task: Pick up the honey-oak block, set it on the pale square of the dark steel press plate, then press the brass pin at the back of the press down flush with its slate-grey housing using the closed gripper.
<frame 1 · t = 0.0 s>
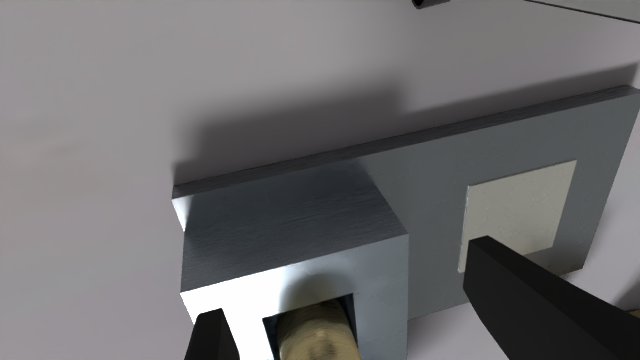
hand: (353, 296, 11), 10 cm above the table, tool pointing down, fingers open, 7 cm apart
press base: (416, 230, 25), on the table
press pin: (317, 349, 19), point 6 cm above the table, slide at 0.0 cm
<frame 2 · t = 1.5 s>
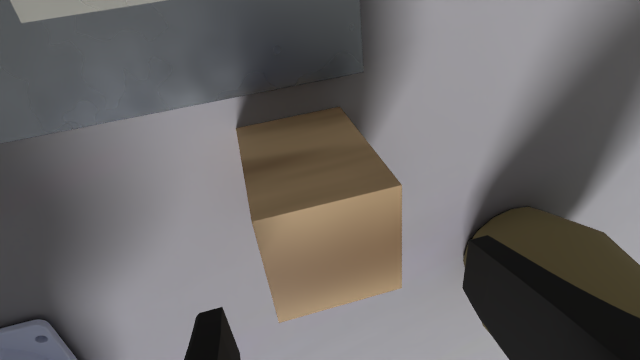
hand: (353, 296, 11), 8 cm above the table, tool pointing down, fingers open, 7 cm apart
squeeze bottle: (502, 241, 25), on the table
oak block: (296, 162, 18), on the table
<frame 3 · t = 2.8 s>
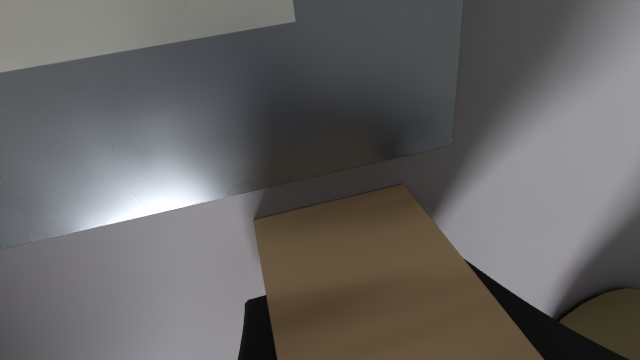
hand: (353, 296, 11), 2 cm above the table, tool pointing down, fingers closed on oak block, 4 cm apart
squeeze bottle: (585, 324, 19), on the table
oak block: (337, 257, 13), on the table, touching gripper
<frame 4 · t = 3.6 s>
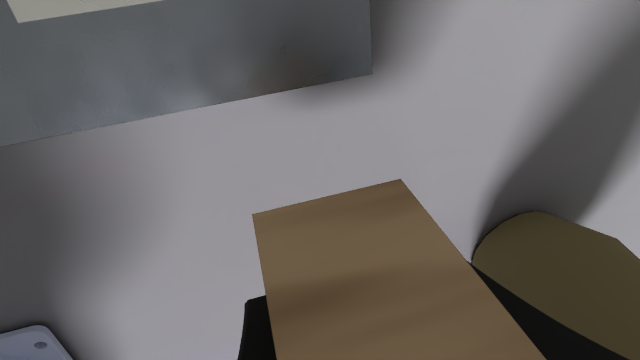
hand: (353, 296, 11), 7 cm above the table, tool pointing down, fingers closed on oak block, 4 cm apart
squeeze bottle: (511, 246, 24), on the table
oak block: (335, 252, 13), point 6 cm above the table, touching gripper
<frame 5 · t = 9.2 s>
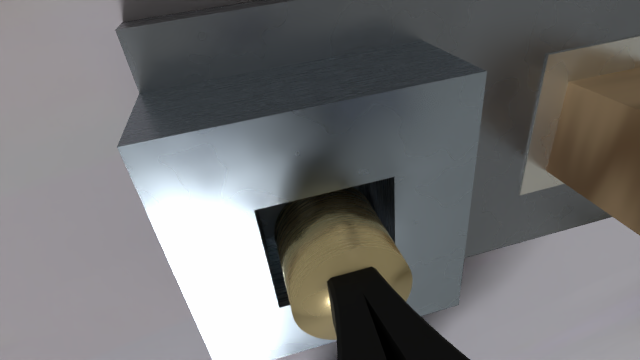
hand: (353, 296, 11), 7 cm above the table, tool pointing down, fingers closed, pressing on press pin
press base: (466, 132, 18), on the table
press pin: (337, 258, 13), point 6 cm above the table, slide at 0.3 cm, touching gripper
oak block: (598, 119, 18), point 1 cm above the table, touching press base
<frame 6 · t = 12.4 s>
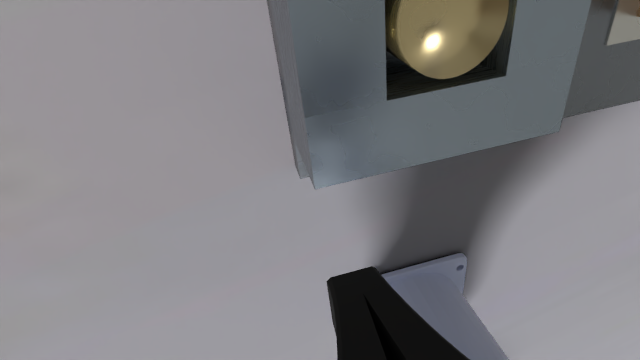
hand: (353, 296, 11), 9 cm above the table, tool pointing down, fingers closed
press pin: (429, 11, 13), point 4 cm above the table, slide at 2.3 cm
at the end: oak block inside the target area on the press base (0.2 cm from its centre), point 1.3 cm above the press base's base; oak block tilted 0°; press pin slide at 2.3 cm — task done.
